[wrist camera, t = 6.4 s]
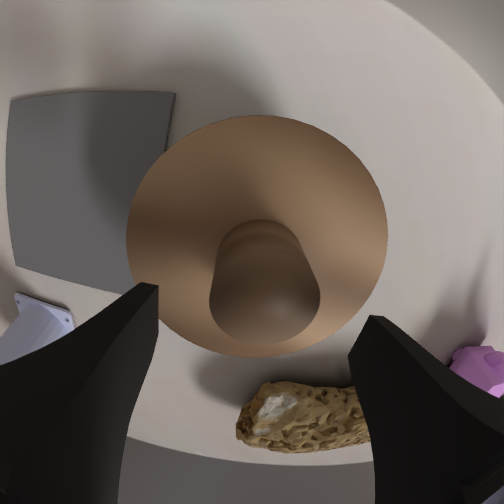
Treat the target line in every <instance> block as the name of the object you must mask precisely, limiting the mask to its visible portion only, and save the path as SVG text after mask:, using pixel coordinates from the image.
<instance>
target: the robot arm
mask: <svg viewBox="0 0 504 504" xmlns="http://www.w3.org/2000/svg"><path fill="white" fill-rule="evenodd" d="M14 297H15V301H16V304H17V307H18V310H19V315H18V317H17V318H16V319H15V320H14V321H13V322H12V324H11V325H10V326H9V327H8V329H7V330H6V331H5V332H4V333H3V335H2V336H1V337H0V504H117V499H118V488H119V478H120V469H121V462H122V457H123V451H124V446H125V440H126V435H127V431H128V426H129V422H130V419H131V415H132V412H133V409H134V406H135V403H136V401H137V398H138V395H139V392H140V390H141V387H142V384H143V382H144V379H145V376H146V374H147V371H148V368H149V366H150V363H151V360H152V357H153V353H154V349H155V345H156V341H157V337H158V334H159V331H158V308H159V285H155V284H150V283H145V282H140V283H138V284H137V285H136V286H134V287H133V288H132V289H130V290H129V291H127V292H126V293H125V294H124V295H122V296H121V297H120V298H118V299H117V300H116V301H114V302H113V303H112V304H110V305H109V306H107V307H106V308H105V309H103V310H102V311H101V312H99V313H98V314H97V315H95V316H94V317H92V318H91V319H89V320H88V321H86V322H85V323H83V324H82V325H80V326H79V327H77V328H76V329H75V327H74V323H73V319H72V315H71V313H70V311H68V310H66V309H63V308H60V307H57V306H54V305H51V304H48V303H45V302H42V301H39V300H36V299H34V298H31V297H28V296H25V295H23V294H20V293H15V294H14ZM348 360H349V366H350V371H351V376H352V381H353V384H354V387H355V390H356V393H357V396H358V399H359V402H360V405H361V408H362V412H363V415H364V418H365V421H366V424H367V427H368V431H369V435H370V440H371V446H372V453H373V460H374V471H375V504H504V400H503V399H500V398H498V397H496V396H494V395H492V394H490V393H488V392H486V391H484V390H482V389H480V388H478V387H477V386H475V385H473V384H472V383H470V382H468V381H467V380H465V379H464V378H462V377H461V376H459V375H458V374H456V373H455V372H453V371H452V370H451V369H449V368H448V367H447V366H445V365H444V364H443V363H442V362H440V361H439V360H438V359H436V358H435V357H434V356H433V355H431V354H430V353H429V352H428V351H427V350H425V349H424V348H423V347H422V346H421V345H419V344H418V343H417V342H416V341H415V340H413V339H412V338H411V337H410V336H409V335H407V334H406V333H405V332H404V331H403V330H401V329H400V328H399V327H398V326H396V325H395V324H394V323H392V322H391V321H390V320H388V319H387V318H385V317H383V316H375V315H369V317H368V319H367V321H366V323H365V325H364V327H363V329H362V331H361V333H360V334H359V336H358V338H357V340H356V342H355V344H354V345H353V347H352V349H351V351H350V353H349V354H348Z"/></svg>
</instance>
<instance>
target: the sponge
mask: <svg viewBox="0 0 504 504" xmlns="http://www.w3.org/2000/svg"><path fill="white" fill-rule="evenodd" d="M236 438H237V439H238V440H242V441H243V442H244V443H245V444H247V445H249V446H251V447H255V448H266V449H269V450H271V451H277V452H282V453H307V452H316V451H324V450H330V449H336V448H341V447H346V446H352V445H359V444H362V443H366V442H370V441H371V440H370V435H369V431H368V427H367V424H366V421H365V418H364V415H363V412H362V408H361V405H360V402H359V399H358V396H357V393H356V390H355V387H354V385H353V386H350V387H348V388H342V389H338V388H334V387H312V386H310V385H304V384H298V383H294V382H290V381H282V382H275V383H273V384H271V381H269V382H267V383H265V384H262V386H261V387H260V389H259V391H258V393H257V394H255V396H254V399H253V400H251V401H249V402H247V403H246V404H245V405H244V407H243V408H242V409H241V413H240V416H239V419H238V421H237V423H236Z"/></svg>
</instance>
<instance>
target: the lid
mask: <svg viewBox="0 0 504 504" xmlns="http://www.w3.org/2000/svg"><path fill="white" fill-rule="evenodd" d="M387 241H388V228H387V218H386V212H385V207H384V203H383V201H382V198H381V195H380V192H379V189H378V187H377V185H376V184H375V182H374V180H373V178H372V176H371V174H370V173H369V171H368V170H367V169H366V167H365V166H364V165H363V163H362V162H361V161H360V159H359V158H358V157H357V156H356V155H355V154H354V153H353V152H352V151H351V150H350V149H349V148H348V147H347V146H345V145H344V144H343V143H341V142H340V141H338V140H337V139H336V138H334V137H333V136H331V135H330V134H328V133H326V132H324V131H322V130H320V129H318V128H316V127H314V126H312V125H309V124H306V123H303V122H300V121H297V120H294V119H289V118H283V117H277V116H262V115H251V116H242V117H235V118H229V119H226V120H222V121H219V122H215V123H212V124H209V125H207V126H205V127H202V128H200V129H198V130H196V131H194V132H192V133H190V134H189V135H187V136H185V137H184V138H182V139H181V140H179V141H178V142H176V143H175V144H174V145H172V146H171V147H170V148H169V149H168V150H167V151H166V152H165V153H163V154H162V155H161V156H160V157H159V158H158V160H157V161H156V162H155V163H154V164H153V166H152V167H151V168H150V169H149V170H148V172H147V173H146V175H145V177H144V178H143V180H142V182H141V183H140V185H139V187H138V189H137V191H136V194H135V196H134V199H133V201H132V204H131V208H130V212H129V216H128V220H127V230H126V249H127V257H128V262H129V267H130V270H131V273H132V276H133V279H134V282H135V284H136V285H137V284H138V283H140V282H145V283H150V284H155V285H159V308H158V318H159V319H160V320H161V321H162V322H163V323H164V324H165V325H167V326H168V327H169V328H170V329H171V330H173V331H174V332H175V333H177V334H178V335H180V336H181V337H183V338H184V339H186V340H188V341H190V342H192V343H194V344H196V345H198V346H200V347H203V348H205V349H208V350H211V351H214V352H218V353H221V354H226V355H231V356H238V357H270V356H278V355H283V354H287V353H292V352H295V351H298V350H301V349H304V348H307V347H309V346H311V345H313V344H316V343H318V342H320V341H322V340H323V339H325V338H327V337H328V336H330V335H332V334H333V333H334V332H336V331H337V330H339V329H340V328H341V327H343V326H344V325H345V324H346V323H347V322H348V321H349V320H350V319H351V318H353V317H354V315H355V314H356V313H357V312H358V311H359V310H360V309H361V307H362V306H363V305H364V304H365V302H366V301H367V299H368V298H369V296H370V295H371V293H372V291H373V289H374V287H375V285H376V284H377V282H378V279H379V277H380V274H381V271H382V268H383V265H384V261H385V256H386V252H387Z"/></svg>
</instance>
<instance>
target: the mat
mask: <svg viewBox="0 0 504 504" xmlns="http://www.w3.org/2000/svg"><path fill="white" fill-rule="evenodd" d="M175 94H176V93H171V92H154V91H91V92H76V93H65V94H55V95H47V96H40V97H33V98H27V99H22V100H16V101H11V103H10V110H9V118H8V128H7V142H6V195H7V209H8V219H9V228H10V235H11V242H12V248H13V254H14V259H15V264H16V266H19V267H22V268H25V269H28V270H32V271H35V272H38V273H41V274H45V275H48V276H52V277H55V278H59V279H62V280H66V281H70V282H73V283H77V284H81V285H85V286H89V287H93V288H97V289H101V290H105V291H109V292H114V293H118V294H122V295H124V294H125V293H126V292H127V291H129V290H130V289H132V288H133V287H134V286H136V284H135V282H134V279H133V276H132V273H131V270H130V267H129V262H128V257H127V249H126V230H127V220H128V216H129V212H130V208H131V204H132V201H133V199H134V196H135V194H136V191H137V189H138V187H139V185H140V183H141V182H142V180H143V178H144V177H145V175H146V173H147V172H148V170H149V169H150V168H151V167H152V166H153V164H154V163H155V162H156V161H157V160H158V158H159V157H160V156H161V155H162V154H163V153H165V151H166V144H167V138H168V132H169V126H170V120H171V115H172V109H173V104H174V99H175Z"/></svg>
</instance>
